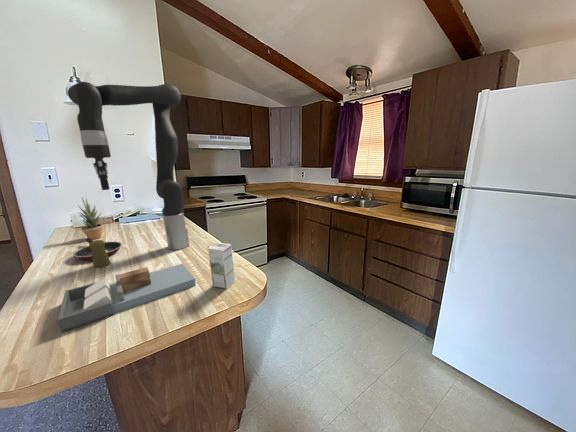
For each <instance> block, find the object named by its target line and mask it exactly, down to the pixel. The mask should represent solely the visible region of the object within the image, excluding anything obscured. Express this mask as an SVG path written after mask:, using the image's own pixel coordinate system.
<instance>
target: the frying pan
mask: <svg viewBox="0 0 576 432" xmlns="http://www.w3.org/2000/svg"><path fill="white" fill-rule="evenodd" d="M85 241H86V242H87V243H88V245H87V246H83V247H81V248H79V249H77V250H75V251H74V252H73V253H72V256H73V257H75V258H77V259H79V260H83V261H93V256H92V249H90V247H89V244H90V243H91V242H93V241H94V240H92V239H90V238H87V237H86V238H85ZM104 242H105V247H104V248H105V250H106V253H107V255H108V257H110V256H112V255H114V254H117V253H118V251H119V250H120V249H121V248H122V246H123V243H122V242H121V241H104Z"/></svg>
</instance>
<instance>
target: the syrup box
mask: <svg viewBox="0 0 576 432" xmlns="http://www.w3.org/2000/svg"><path fill="white" fill-rule="evenodd" d="M207 251H208V257H209V258H208V259H209V265H210V273H211V280H212V281H211V282H212V287H214V288H220V289H224V290H225V289H228V288H230V287H231V286H232V285H233V284H234V283H235V282H236V278H235V277H236V276H235V269H234V268H235V267H234V257H233V250H232V243H231V244H230V243H225V242H224V243H222V242H217V243H214V244H212V245H211V246H210V247H209V248H207Z"/></svg>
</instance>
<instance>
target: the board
mask: <svg viewBox="0 0 576 432" xmlns="http://www.w3.org/2000/svg"><path fill="white" fill-rule="evenodd" d="M149 274H150V279H151V284H150V285H147V286H143V287H140V288H137V289H134V290H130V291H127V292H124V293H123V294H124V299H125V300H123V301H120V300H119V296H118V291H117V284H116V282H112V283H111V288H112V292H111V293H112V298H113V303H112V304H111V309H112V313H113V314H115V313H119V312H121V311H124V310H128V309H130V308H131V309H132V308H133V307H136V306H139V305H142V304H144V303H148V302H151V301H153V300H157V299H160V298H162V297H166V296H168V295H169V296H170V295H171V294H175V293H177V292H179V291H183V290H186V289H188V288H191V287H194V286H196V278H195V277H194V275H192V273H191V272H190V271H189V270H188V268H187V267H186V265H184V263H179V264H175V265H172V266H169V267H165V268H162V269H158V270H155V271H152V272H149Z"/></svg>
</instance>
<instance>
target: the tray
mask: <svg viewBox="0 0 576 432" xmlns="http://www.w3.org/2000/svg"><path fill="white" fill-rule="evenodd" d="M106 279H107V278H106ZM107 280H108V281H109V279H107ZM97 282H98V281H96V282H93V283H89V284H85V285H82V286H78V287H74V288H70V289H66V290H64V293H63V294H64V295H63V297H62V302H61V306H60V310H59V314H58V318H57V322H58V325H59V328H60V331H61V333H62V334H63V333H66V332H69V331H71V330H74V329H78V328H80V327H83V326H87V325H89V324H92V323H95V322H98V321H101V320H104V319H107V318H110V317H112V316H113V315H114V313H112V309H111V304H110V302H108V303H105V304H102V305H99V306H96V307H92V308H89V309H86V310H83V309H84V300H85V299H86V298H85V289H87V288H88V287H90V286H92V285H93V284H95V283H97Z"/></svg>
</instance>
